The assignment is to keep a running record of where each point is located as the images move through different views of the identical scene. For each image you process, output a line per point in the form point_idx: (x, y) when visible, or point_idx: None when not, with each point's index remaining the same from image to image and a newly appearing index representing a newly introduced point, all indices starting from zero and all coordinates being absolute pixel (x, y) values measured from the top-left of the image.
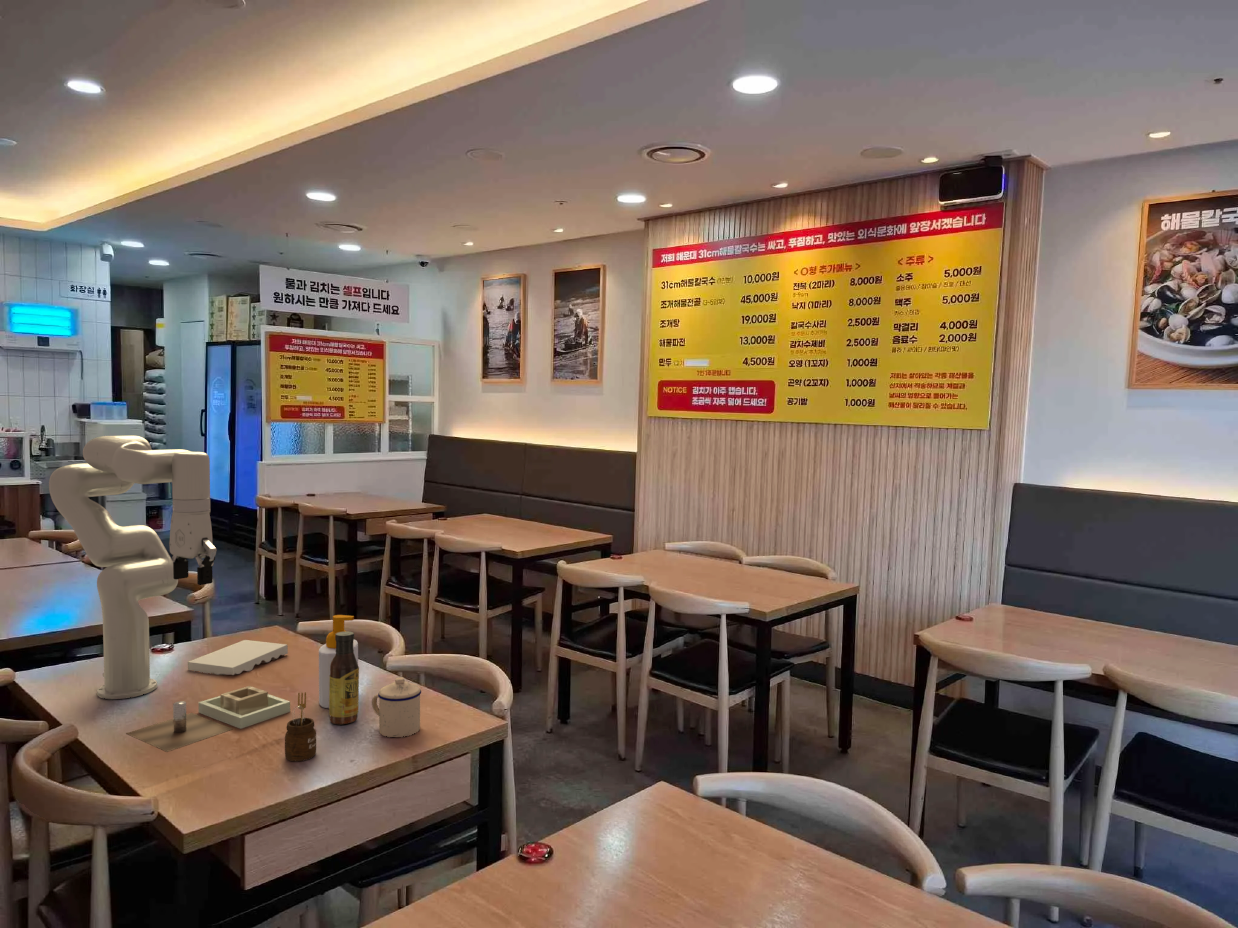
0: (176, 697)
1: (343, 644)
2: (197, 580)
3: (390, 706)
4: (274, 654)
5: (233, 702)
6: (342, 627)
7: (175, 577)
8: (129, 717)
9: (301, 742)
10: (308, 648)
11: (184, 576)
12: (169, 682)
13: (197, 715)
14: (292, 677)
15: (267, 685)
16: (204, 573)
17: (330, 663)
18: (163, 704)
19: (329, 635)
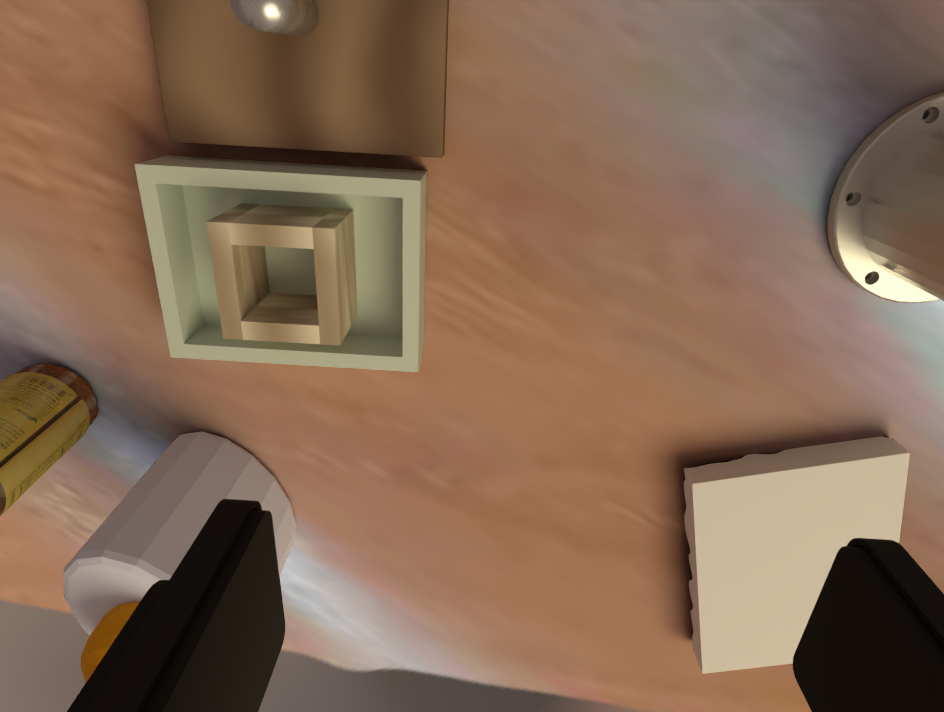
0: (690, 255)
1: None
2: (225, 536)
3: None
4: (695, 618)
5: (248, 220)
6: None
7: (861, 556)
8: (668, 28)
9: None
10: (684, 696)
11: (812, 644)
12: (849, 332)
13: (398, 152)
14: (510, 540)
15: (514, 467)
16: (93, 680)
17: (93, 534)
18: (671, 187)
19: None
